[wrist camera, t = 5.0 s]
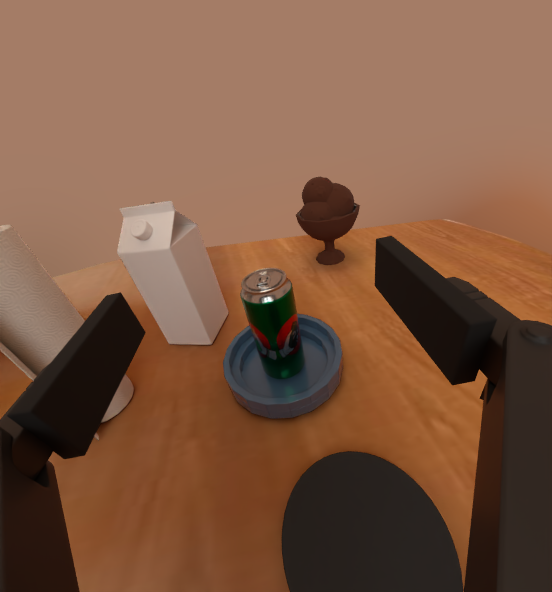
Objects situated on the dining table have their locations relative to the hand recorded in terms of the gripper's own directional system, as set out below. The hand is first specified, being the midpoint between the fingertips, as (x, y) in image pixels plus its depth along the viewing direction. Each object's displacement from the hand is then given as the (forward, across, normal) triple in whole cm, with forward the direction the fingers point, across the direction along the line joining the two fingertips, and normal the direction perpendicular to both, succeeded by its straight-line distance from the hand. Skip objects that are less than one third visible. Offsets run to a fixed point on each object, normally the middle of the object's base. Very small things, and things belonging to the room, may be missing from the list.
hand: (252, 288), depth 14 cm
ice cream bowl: (+34, +12, -18) cm, 41 cm away
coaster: (-6, +3, -18) cm, 19 cm away
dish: (+10, 0, -18) cm, 20 cm away
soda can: (+10, 0, -17) cm, 20 cm away
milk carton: (+20, -12, -18) cm, 30 cm away
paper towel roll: (+9, -22, -18) cm, 30 cm away
